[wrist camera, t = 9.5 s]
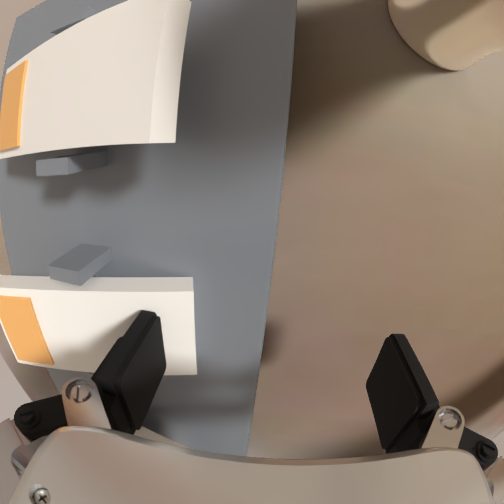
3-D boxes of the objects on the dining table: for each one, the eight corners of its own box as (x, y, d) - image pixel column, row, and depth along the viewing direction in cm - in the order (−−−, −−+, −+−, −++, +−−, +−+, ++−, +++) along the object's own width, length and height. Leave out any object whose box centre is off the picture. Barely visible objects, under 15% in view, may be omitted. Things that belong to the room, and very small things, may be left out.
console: (295, -13, 9) (302, -83, 4) (246, 444, 22) (239, 498, 16) (45, 29, 10) (-16, 14, 4) (91, 406, 23) (67, 447, 17)
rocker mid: (192, 276, 12) (193, 293, 10) (195, 357, 13) (197, 376, 12) (-1, 275, 9) (-14, 288, 8) (25, 348, 11) (17, 364, 10)
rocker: (191, 1, 6) (167, -16, 4) (175, 142, 7) (145, 143, 6) (25, 69, 8) (4, 69, 7) (18, 155, 10) (-3, 159, 8)
